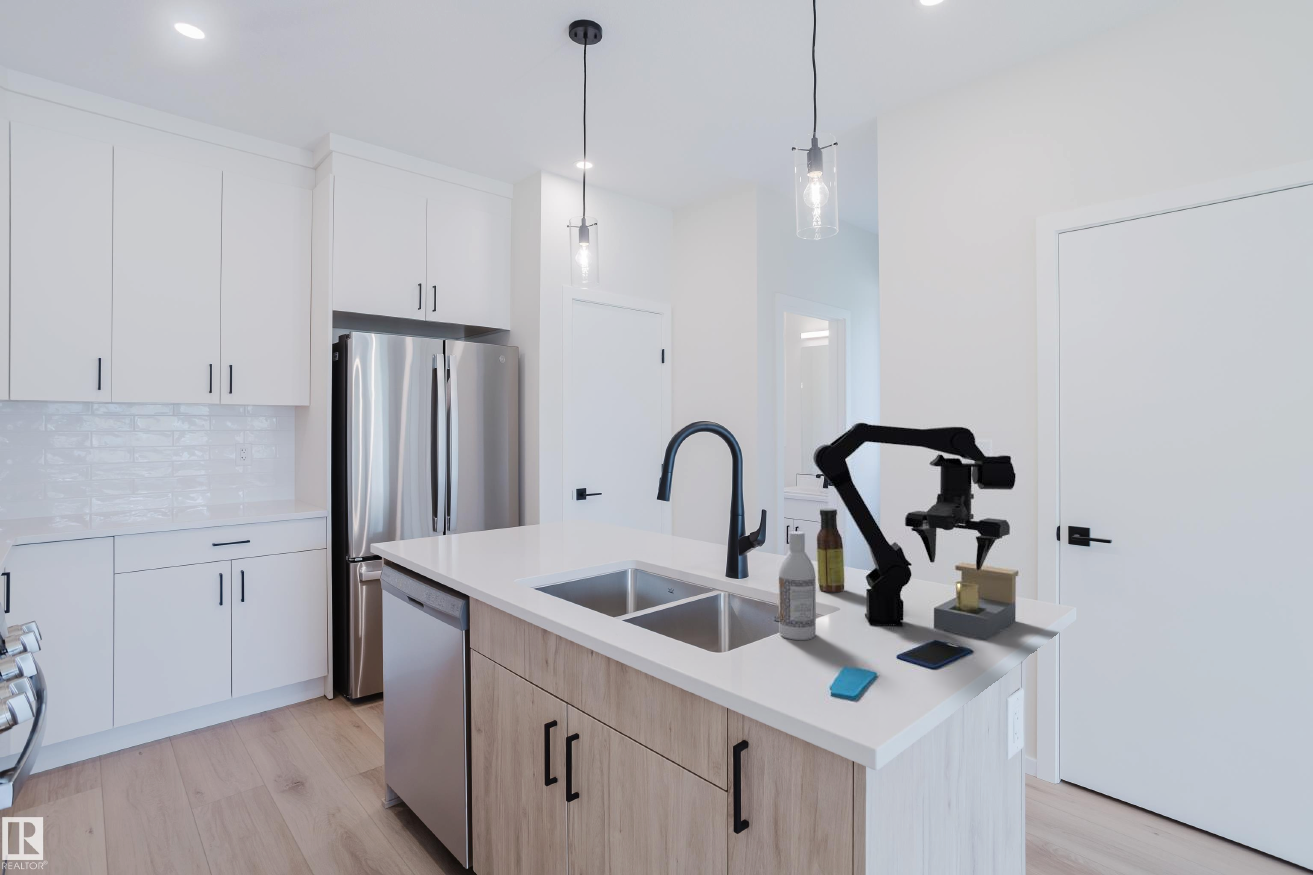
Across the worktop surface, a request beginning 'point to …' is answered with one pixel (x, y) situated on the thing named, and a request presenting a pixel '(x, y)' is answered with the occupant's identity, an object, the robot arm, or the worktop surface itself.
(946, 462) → the robot arm
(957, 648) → the cell phone
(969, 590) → the peg
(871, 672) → the sponge
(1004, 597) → the socket block
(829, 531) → the sauce bottle
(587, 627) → the worktop surface
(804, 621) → the bath foam
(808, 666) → the worktop surface
